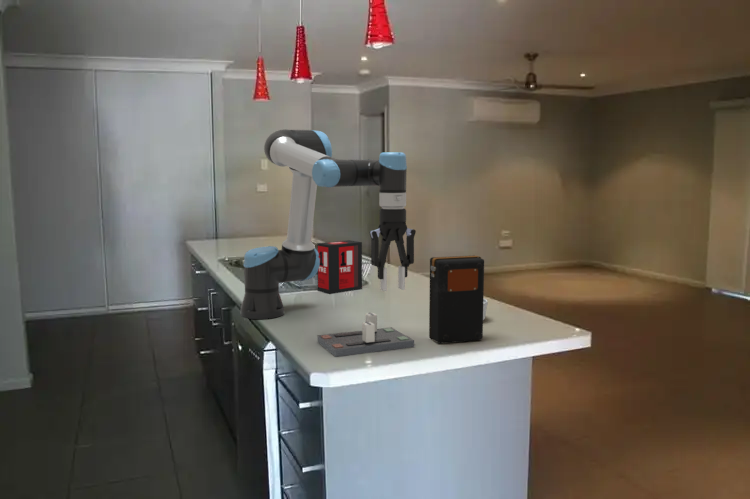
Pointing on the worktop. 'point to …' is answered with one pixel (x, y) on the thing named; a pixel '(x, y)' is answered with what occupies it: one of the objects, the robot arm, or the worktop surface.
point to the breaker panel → (355, 345)
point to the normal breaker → (371, 319)
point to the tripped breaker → (368, 332)
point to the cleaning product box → (339, 266)
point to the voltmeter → (456, 298)
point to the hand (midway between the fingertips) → (392, 289)
